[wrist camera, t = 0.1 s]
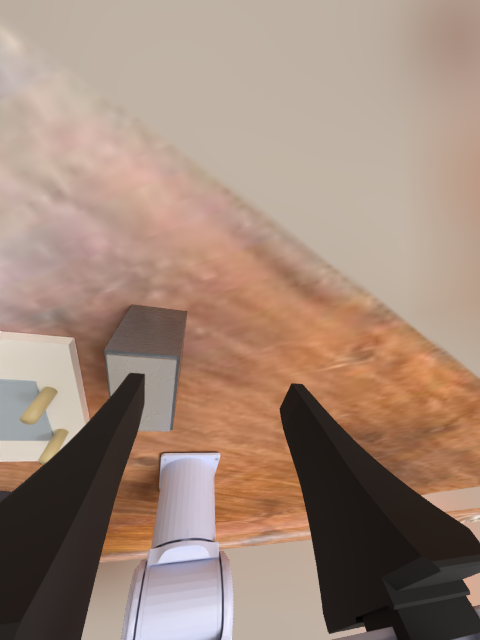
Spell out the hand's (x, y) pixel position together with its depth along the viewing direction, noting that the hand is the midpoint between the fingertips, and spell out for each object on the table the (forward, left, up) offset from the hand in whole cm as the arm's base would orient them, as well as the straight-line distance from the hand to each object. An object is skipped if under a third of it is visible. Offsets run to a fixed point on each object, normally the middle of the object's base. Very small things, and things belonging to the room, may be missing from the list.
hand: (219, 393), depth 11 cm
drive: (-5, +4, -10) cm, 12 cm away
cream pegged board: (-14, +17, -10) cm, 25 cm away
